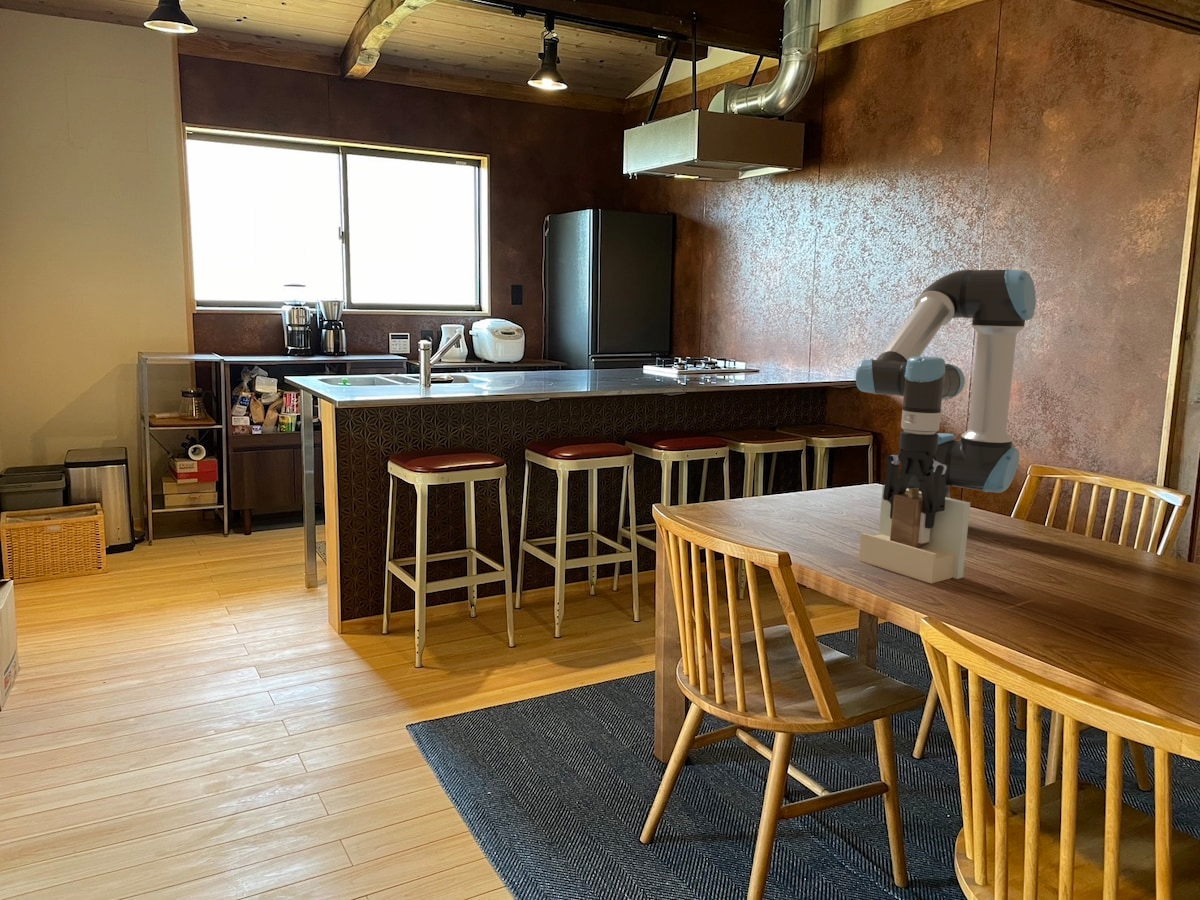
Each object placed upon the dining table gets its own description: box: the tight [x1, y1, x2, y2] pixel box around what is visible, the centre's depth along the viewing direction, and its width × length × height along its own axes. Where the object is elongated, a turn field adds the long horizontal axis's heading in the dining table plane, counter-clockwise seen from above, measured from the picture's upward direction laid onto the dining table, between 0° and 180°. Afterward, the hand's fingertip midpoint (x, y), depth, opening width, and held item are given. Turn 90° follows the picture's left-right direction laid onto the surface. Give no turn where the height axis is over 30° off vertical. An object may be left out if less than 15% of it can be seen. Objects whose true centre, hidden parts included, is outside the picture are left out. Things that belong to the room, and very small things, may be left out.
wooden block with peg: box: [890, 488, 929, 548], centre depth 183 cm, size 5×6×12 cm
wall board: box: [858, 484, 971, 585], centre depth 183 cm, size 10×20×16 cm, turn 35°
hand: (909, 538), depth 184 cm, fingers closed on wooden block with peg, 6 cm apart
